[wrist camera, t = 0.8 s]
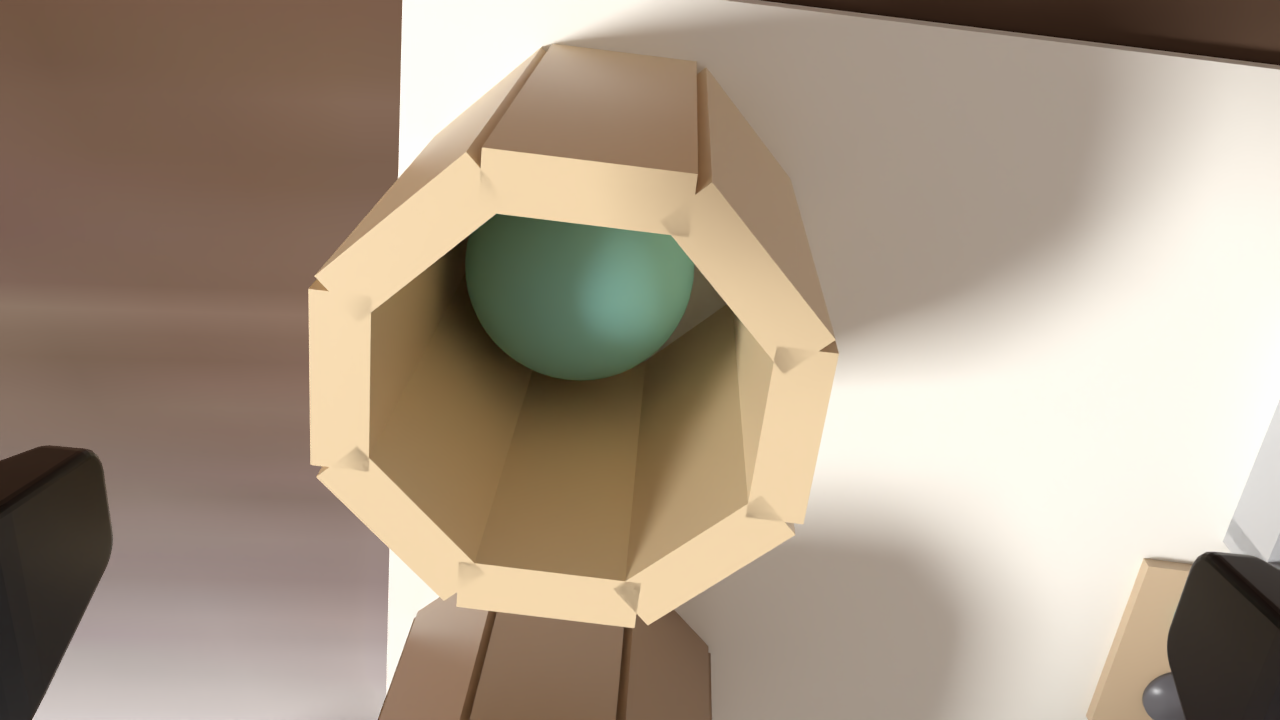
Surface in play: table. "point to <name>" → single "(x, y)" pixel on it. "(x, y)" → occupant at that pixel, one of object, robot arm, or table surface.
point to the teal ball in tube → (576, 293)
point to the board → (812, 366)
